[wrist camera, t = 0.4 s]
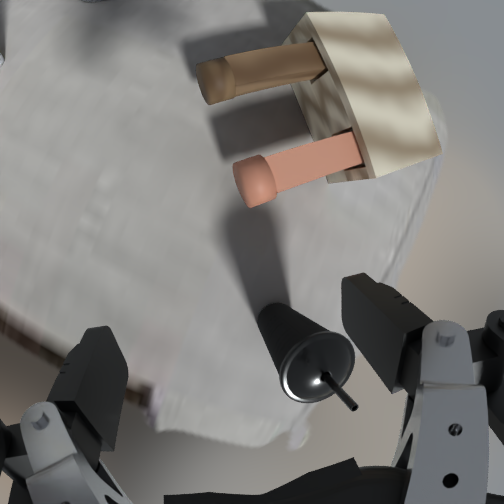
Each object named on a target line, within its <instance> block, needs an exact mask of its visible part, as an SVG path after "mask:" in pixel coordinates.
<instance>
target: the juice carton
mask: <svg viewBox="0 0 504 504" xmlns="http://www.w3.org/2000/svg"><path fill="white" fill-rule="evenodd" d="M3 63H4V58H3V56H2V55H1V53H0V67H1V66H2V64H3Z"/></svg>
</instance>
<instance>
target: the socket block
mask: <svg viewBox="0 0 504 504" xmlns="http://www.w3.org/2000/svg"><path fill="white" fill-rule="evenodd" d="M307 42H315V43H316V45H317V47H318V49H319V51H320V53H321V55H322V57H323V60H324V62H325V64H326V66H327V68H328V70H329V71H328V72H326V73H325V74H324V75H323V76H321V77H320V78H319V79H313V80H307V81H301V82H296V83H291V86H292V89H293V91H294V93H295V96H296V98H297V101H298V103H299V105H300V108H301V110H302V113H303V115H304V118H305V120H306V123H307V125H308V128H309V131H310V133H311V136H312V138H313V141H314V142H316V141H319V140H323V139H326V138H330V137H333V136H337V135H341V134H344V133H348V132H352V131H354V134H355V137H356V139H357V142H358V145H359V148H360V151H361V154H362V157H363V160H364V163H361V164H358V165H355V166H352V167H349V168H346V169H343V170H340V171H338V172H335V173H332V174H329V175H326V178H327V181H328V184H330V183H338V182H346V181H354V180H363V179H372V178H378V177H380V176H383V175H386V174H389V173H391V172H394V171H397V170H399V169H402V168H405V167H408V166H410V165H413V164H416V163H419V162H421V161H424V160H427V159H430V158H432V157H435V156H438V155H441V154H443V153H442V149H441V146H440V143H439V139H438V136H437V133H436V130H435V127H434V124H433V121H432V118H431V115H430V112H429V109H428V106H427V104H426V101H425V99H424V96H423V93H422V91H421V88H420V86H419V83H418V81H417V79H416V76H415V74H414V72H413V70H412V67H411V65H410V63H409V61H408V59H407V57H406V54H405V52H404V50H403V48H402V46H401V44H400V42H399V40H398V39H397V37H396V35H395V33H394V31H393V29H392V27H391V25H390V24H389V22H388V20H387V19H386V17H385V15H384V14H373V13H372V14H371V13H355V12H306V13H305V15H304V16H303V17H302V18H301V20H300V21H299V22H298V24H297V25H296V26H295V28H294V29H293V30H292V31H291V33H290V34H289V35H288V37H287V38H286V39H285V41H284V42H283V44H282V45H281V46H283V45H290V44H298V43H307Z"/></svg>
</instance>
